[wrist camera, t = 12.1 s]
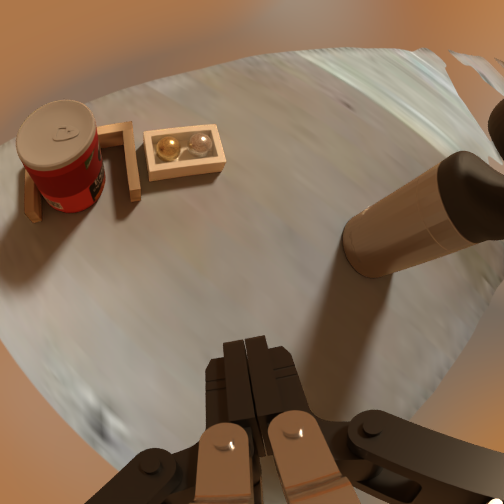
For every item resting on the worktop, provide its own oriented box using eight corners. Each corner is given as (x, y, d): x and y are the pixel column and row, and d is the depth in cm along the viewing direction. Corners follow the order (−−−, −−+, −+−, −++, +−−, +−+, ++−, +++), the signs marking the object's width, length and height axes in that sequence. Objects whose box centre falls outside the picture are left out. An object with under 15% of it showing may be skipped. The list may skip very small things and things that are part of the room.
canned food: (110, 206, 33) (98, 154, 23) (46, 222, 30) (13, 178, 20) (102, 151, 34) (93, 90, 24) (43, 166, 31) (17, 111, 21)
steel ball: (206, 141, 38) (211, 127, 35) (211, 160, 37) (217, 147, 35) (183, 143, 37) (186, 129, 34) (187, 163, 36) (191, 150, 34)
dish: (212, 135, 39) (215, 124, 37) (221, 171, 38) (226, 161, 36) (143, 142, 36) (143, 131, 34) (149, 181, 35) (149, 171, 33)
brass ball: (177, 144, 37) (180, 130, 34) (181, 164, 36) (184, 151, 33) (153, 147, 35) (154, 133, 33) (156, 168, 35) (158, 154, 32)
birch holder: (132, 135, 36) (131, 121, 33) (141, 200, 34) (140, 188, 31) (33, 155, 31) (27, 143, 28) (33, 222, 29) (24, 213, 27)
